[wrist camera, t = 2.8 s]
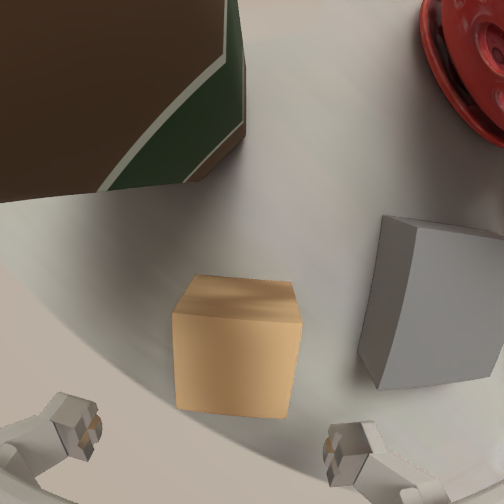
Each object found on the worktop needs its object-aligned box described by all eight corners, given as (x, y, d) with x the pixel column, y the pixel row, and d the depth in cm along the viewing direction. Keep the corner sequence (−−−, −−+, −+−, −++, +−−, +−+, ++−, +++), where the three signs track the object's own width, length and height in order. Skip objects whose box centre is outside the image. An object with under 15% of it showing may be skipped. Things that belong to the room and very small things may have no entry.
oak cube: (290, 281, 17) (302, 323, 12) (280, 361, 18) (285, 418, 13) (196, 273, 17) (171, 312, 12) (195, 354, 18) (176, 408, 13)
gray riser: (489, 231, 15) (530, 245, 12) (459, 346, 17) (489, 376, 13) (382, 215, 15) (417, 227, 12) (357, 350, 17) (377, 390, 13)
